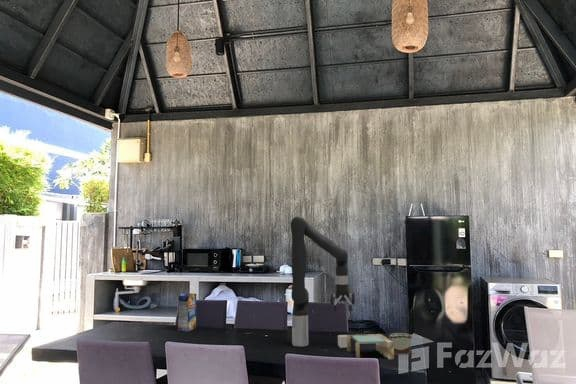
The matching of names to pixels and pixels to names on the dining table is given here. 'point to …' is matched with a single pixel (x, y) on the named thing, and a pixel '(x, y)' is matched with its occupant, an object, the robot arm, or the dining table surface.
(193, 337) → the dining table surface
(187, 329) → the juice carton
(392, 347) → the trapdoor frame
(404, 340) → the food container
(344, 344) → the beige block
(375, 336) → the trapdoor
